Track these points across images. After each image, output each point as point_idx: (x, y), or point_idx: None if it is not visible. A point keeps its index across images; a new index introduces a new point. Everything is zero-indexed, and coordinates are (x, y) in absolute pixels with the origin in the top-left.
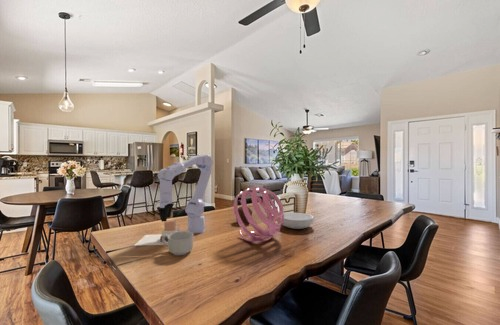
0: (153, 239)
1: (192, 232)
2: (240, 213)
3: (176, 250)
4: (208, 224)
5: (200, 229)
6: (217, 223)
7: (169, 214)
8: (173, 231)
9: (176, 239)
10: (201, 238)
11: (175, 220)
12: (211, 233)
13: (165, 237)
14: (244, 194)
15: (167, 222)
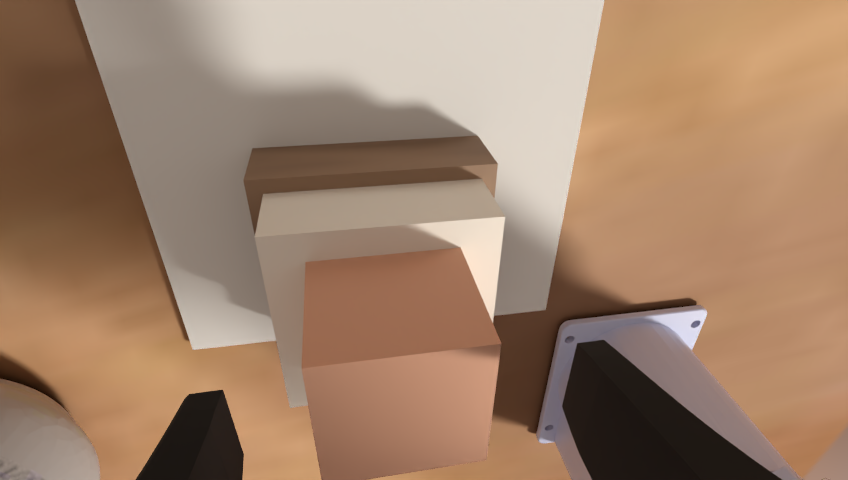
0: (356, 4)
1: (560, 373)
2: None
3: None
4: (793, 405)
5: (567, 444)
6: (785, 451)
7: (598, 470)
8: (284, 377)
9: (10, 467)
10: None
11: (473, 459)
12: (524, 476)
13: None
14: None
15: (317, 410)
